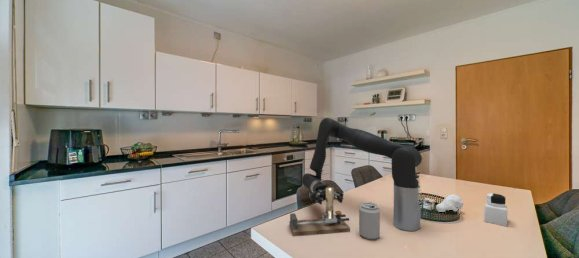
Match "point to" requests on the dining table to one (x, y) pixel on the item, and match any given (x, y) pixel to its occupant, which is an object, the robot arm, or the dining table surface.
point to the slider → (331, 208)
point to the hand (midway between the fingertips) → (331, 201)
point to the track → (317, 226)
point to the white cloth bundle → (450, 203)
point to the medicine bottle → (495, 209)
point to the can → (369, 220)
